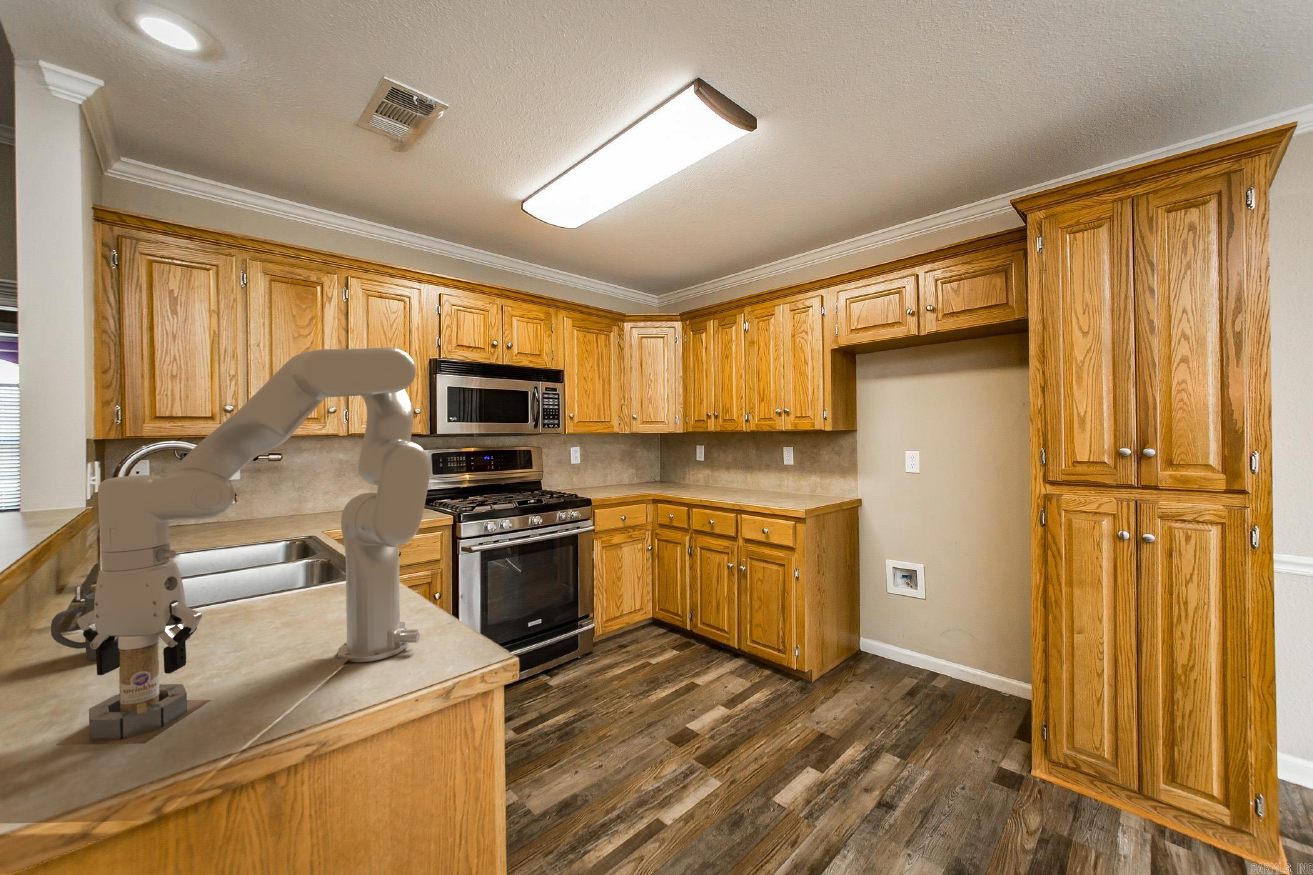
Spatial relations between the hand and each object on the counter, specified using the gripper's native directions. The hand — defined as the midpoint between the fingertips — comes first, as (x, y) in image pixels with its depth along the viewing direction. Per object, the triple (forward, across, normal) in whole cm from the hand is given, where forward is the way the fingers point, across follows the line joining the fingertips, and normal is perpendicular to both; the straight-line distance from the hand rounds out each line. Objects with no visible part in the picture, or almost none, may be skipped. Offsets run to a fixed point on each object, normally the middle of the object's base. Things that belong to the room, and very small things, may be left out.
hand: (142, 670), depth 83 cm
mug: (+8, +30, -26) cm, 41 cm away
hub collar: (+7, 0, 0) cm, 8 cm away
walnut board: (+8, 0, 0) cm, 8 cm away
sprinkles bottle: (+8, 0, 0) cm, 8 cm away
